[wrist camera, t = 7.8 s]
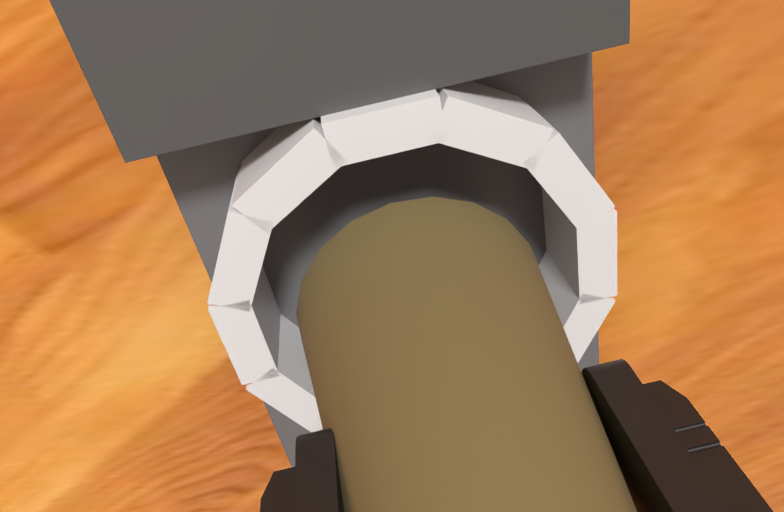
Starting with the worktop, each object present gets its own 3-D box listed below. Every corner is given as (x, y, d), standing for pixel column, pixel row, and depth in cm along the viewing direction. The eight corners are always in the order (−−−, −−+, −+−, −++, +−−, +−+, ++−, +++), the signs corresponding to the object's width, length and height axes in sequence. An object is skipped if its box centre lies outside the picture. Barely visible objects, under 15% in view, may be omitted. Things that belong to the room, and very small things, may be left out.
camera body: (514, -157, 17) (645, -188, 10) (551, 337, 26) (632, 480, 20) (126, -66, 17) (18, -40, 10) (303, 396, 26) (304, 559, 20)
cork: (385, 435, 17) (504, 1115, 7) (241, 292, 14) (139, 1128, 4) (578, 325, 16) (1001, 954, 6) (469, 144, 13) (963, 827, 3)
